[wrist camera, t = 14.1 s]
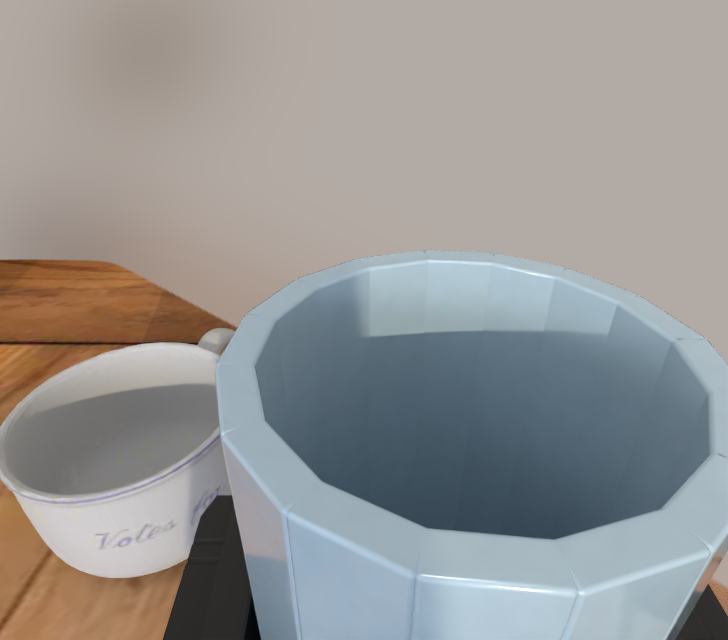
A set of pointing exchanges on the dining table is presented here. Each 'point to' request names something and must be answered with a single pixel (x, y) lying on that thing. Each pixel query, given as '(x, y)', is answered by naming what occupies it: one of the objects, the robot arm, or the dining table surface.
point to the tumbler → (472, 454)
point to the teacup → (120, 456)
